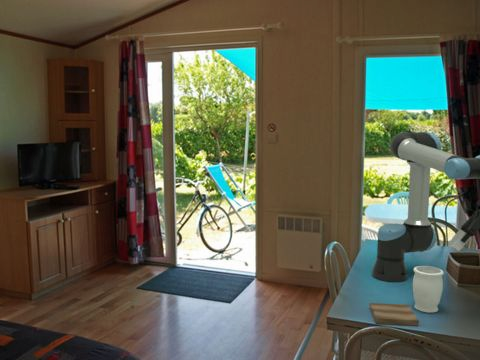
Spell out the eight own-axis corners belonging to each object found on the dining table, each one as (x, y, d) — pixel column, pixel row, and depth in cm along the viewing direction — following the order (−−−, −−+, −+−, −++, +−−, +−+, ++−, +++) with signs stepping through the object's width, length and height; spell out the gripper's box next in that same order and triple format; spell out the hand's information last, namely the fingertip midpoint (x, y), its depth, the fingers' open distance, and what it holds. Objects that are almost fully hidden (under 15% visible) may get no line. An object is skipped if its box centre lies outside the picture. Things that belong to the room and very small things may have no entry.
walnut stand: (369, 308, 175) (369, 302, 174) (408, 309, 173) (408, 304, 173) (376, 323, 161) (376, 318, 161) (418, 326, 159) (418, 320, 159)
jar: (441, 316, 168) (444, 275, 166) (411, 311, 171) (413, 272, 170) (440, 305, 177) (443, 267, 176) (411, 301, 181) (413, 264, 179)
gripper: (510, 208, 153) (466, 258, 157) (496, 206, 176) (459, 249, 180) (489, 194, 155) (447, 243, 159) (478, 194, 178) (442, 236, 182)
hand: (453, 246), depth 169 cm, fingers open, 13 cm apart
